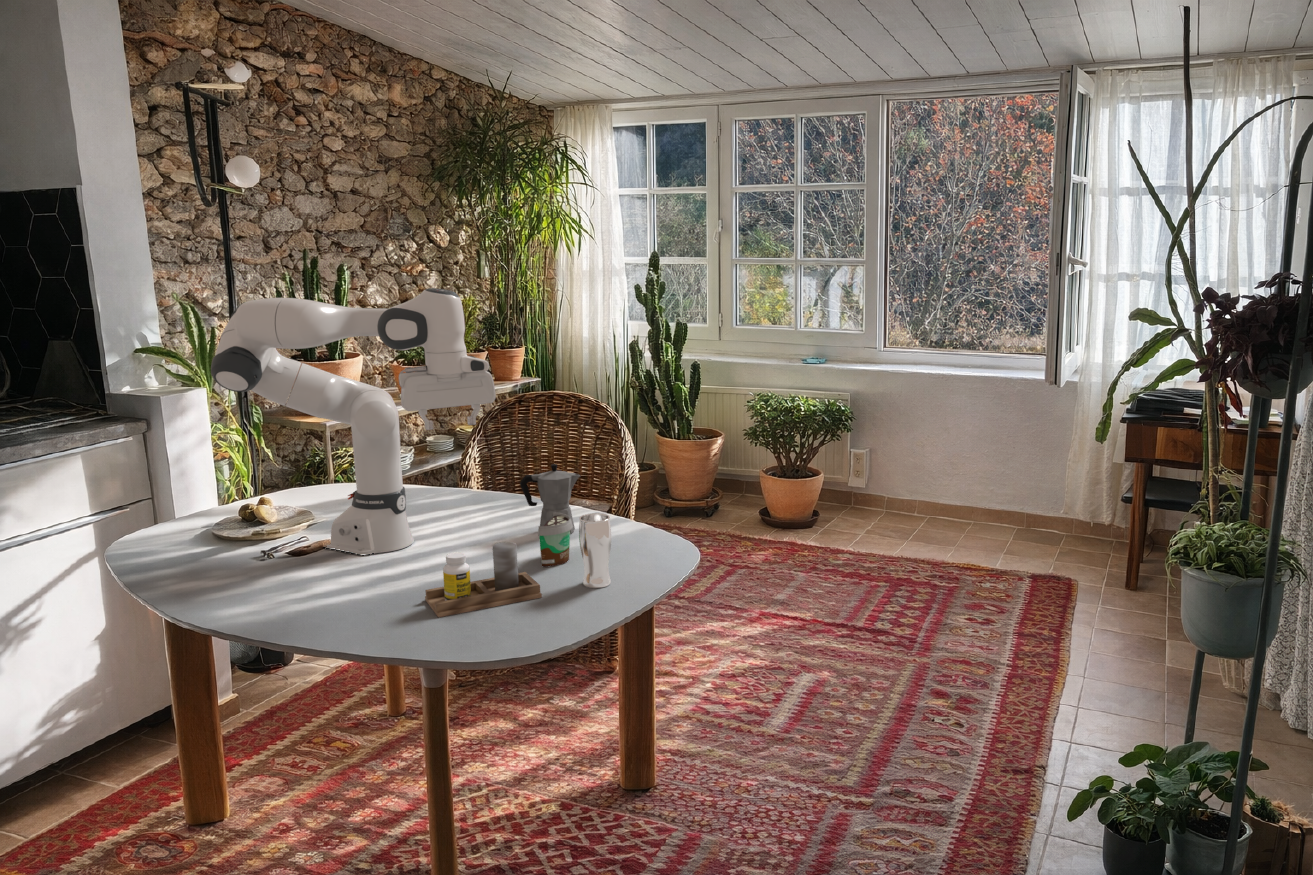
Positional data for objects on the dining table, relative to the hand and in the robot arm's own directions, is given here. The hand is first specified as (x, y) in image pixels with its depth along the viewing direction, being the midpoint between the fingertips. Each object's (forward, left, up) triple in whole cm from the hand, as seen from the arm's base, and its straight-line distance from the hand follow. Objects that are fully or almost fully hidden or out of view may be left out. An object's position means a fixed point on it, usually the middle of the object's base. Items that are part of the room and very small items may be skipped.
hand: (450, 427), depth 210 cm
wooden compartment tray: (+12, -12, -34) cm, 38 cm away
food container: (+18, +15, -34) cm, 42 cm away
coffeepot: (+7, +35, -34) cm, 50 cm away
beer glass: (+32, +3, -34) cm, 47 cm away
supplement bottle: (+8, -16, -34) cm, 38 cm away
